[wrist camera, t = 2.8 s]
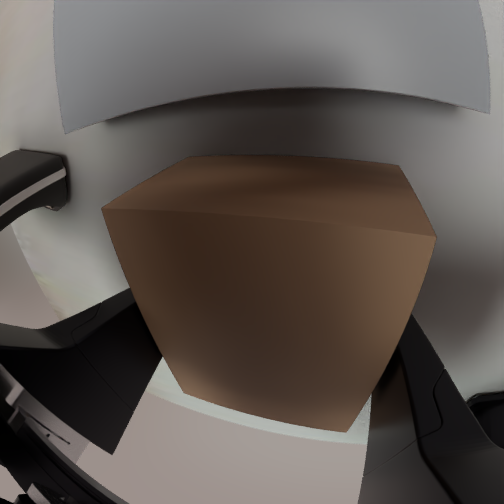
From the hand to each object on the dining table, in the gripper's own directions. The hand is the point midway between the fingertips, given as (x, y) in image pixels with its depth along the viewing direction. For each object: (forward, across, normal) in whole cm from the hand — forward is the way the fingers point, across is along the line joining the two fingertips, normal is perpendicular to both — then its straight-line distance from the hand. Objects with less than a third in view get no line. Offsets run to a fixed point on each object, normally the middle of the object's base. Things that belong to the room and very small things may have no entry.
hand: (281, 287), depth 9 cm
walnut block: (+1, 0, 0) cm, 1 cm away
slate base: (+1, +1, -12) cm, 12 cm away
